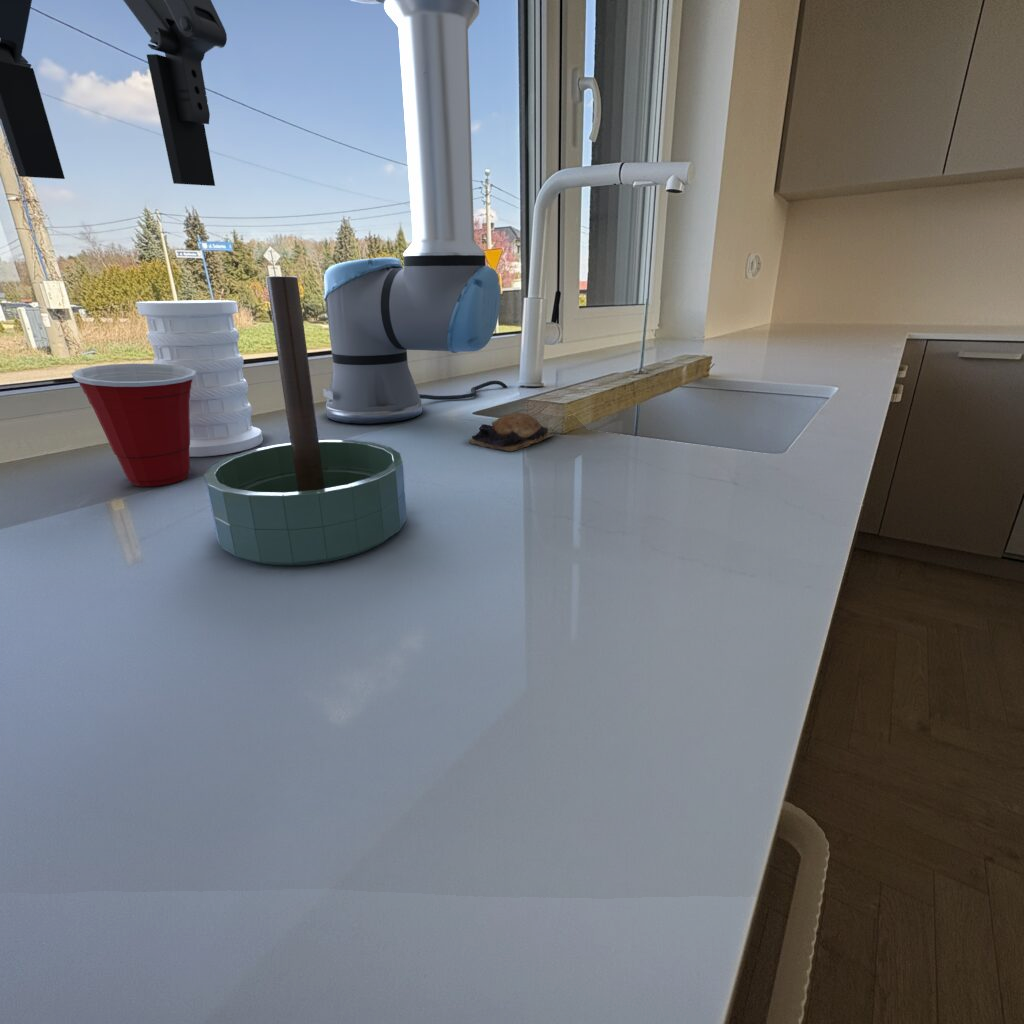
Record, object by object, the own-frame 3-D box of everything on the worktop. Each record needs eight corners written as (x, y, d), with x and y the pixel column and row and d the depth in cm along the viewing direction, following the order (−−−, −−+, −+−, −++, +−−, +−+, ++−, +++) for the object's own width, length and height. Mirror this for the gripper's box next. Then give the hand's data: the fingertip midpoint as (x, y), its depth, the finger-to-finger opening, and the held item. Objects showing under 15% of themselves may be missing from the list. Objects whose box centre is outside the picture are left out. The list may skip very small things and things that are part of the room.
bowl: (305, 490, 59) (297, 434, 57) (437, 510, 54) (434, 449, 52) (175, 550, 46) (157, 480, 44) (334, 585, 41) (323, 507, 38)
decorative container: (218, 431, 83) (192, 299, 76) (281, 438, 79) (260, 300, 72) (146, 451, 73) (108, 302, 66) (213, 460, 69) (181, 303, 62)
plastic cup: (167, 499, 57) (138, 377, 52) (77, 491, 59) (41, 374, 54) (237, 467, 67) (217, 362, 62) (157, 461, 69) (133, 360, 64)
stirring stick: (312, 509, 53) (279, 276, 45) (355, 516, 51) (328, 276, 44) (274, 528, 49) (231, 276, 41) (320, 537, 47) (284, 276, 39)
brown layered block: (511, 428, 85) (511, 404, 84) (558, 437, 80) (559, 411, 79) (463, 442, 77) (462, 415, 76) (512, 453, 72) (512, 424, 71)
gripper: (-262, -315, 29) (-74, 171, 39) (115, -436, 22) (222, 185, 32) (-84, -220, 35) (38, 178, 45) (249, -292, 29) (304, 190, 39)
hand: (115, 182), depth 39 cm, fingers open, 13 cm apart
